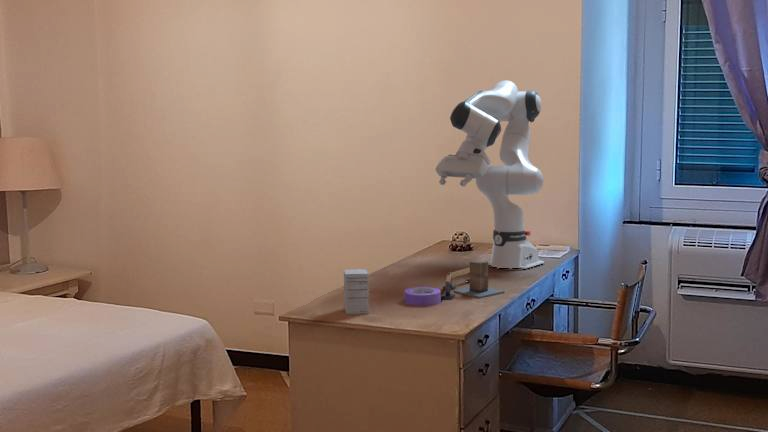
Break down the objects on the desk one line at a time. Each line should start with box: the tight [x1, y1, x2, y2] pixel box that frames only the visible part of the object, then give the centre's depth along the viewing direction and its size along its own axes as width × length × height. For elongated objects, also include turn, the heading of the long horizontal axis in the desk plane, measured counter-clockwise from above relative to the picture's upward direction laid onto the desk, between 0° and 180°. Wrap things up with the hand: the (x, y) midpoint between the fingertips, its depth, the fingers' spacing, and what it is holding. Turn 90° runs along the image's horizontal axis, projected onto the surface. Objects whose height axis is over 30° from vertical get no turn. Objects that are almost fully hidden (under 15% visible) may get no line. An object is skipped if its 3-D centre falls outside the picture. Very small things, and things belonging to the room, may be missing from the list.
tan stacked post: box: [469, 259, 489, 293], centre depth 304 cm, size 4×4×10 cm
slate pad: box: [453, 287, 505, 299], centre depth 305 cm, size 12×12×1 cm
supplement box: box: [343, 268, 370, 315], centre depth 279 cm, size 7×7×13 cm
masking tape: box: [403, 286, 442, 307], centre depth 292 cm, size 12×12×4 cm
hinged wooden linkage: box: [441, 266, 470, 300], centre depth 310 cm, size 32×8×6 cm, turn 158°
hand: (451, 184), depth 324 cm, fingers open, 8 cm apart
